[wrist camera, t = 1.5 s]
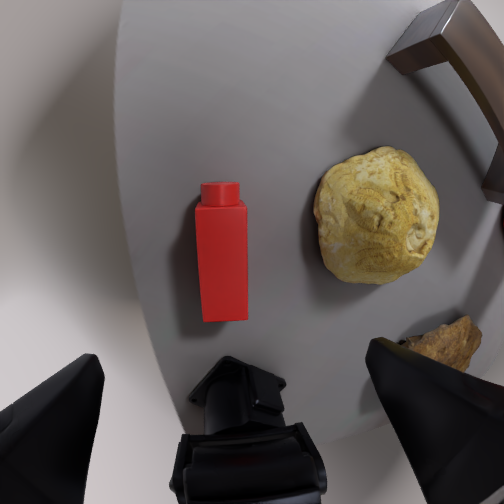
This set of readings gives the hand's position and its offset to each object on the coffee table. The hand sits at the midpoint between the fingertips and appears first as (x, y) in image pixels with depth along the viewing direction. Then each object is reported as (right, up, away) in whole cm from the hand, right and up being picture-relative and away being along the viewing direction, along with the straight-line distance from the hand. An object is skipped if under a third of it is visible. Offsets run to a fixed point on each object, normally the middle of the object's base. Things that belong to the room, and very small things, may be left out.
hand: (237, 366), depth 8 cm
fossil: (+10, +6, +11) cm, 16 cm away
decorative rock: (+21, -8, +17) cm, 28 cm away
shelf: (+20, +17, +9) cm, 28 cm away
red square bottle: (-2, +3, +10) cm, 11 cm away
